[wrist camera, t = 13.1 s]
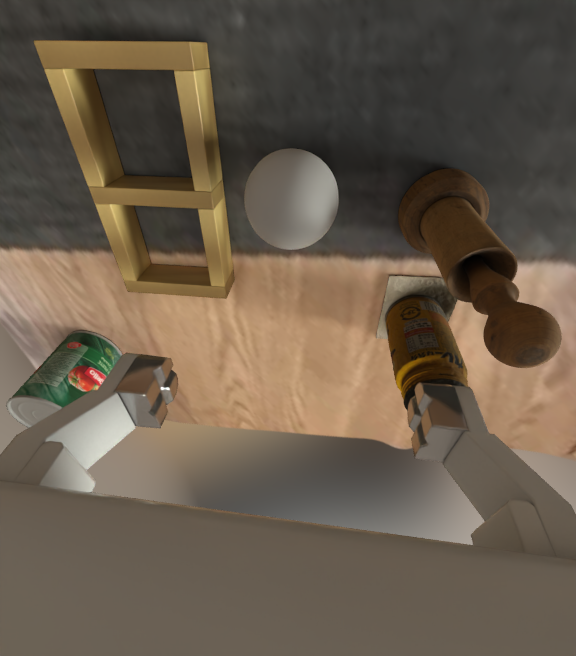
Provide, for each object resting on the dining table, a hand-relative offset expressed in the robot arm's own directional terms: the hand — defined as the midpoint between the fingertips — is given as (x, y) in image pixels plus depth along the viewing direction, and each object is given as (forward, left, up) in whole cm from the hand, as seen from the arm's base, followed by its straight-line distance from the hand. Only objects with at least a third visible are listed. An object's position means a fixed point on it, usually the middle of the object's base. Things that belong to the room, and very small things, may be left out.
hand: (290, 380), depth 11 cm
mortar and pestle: (+2, +11, -23) cm, 25 cm away
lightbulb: (-1, -1, -23) cm, 23 cm away
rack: (+1, -13, -22) cm, 26 cm away
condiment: (+13, +12, -23) cm, 28 cm away
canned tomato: (+24, -30, -23) cm, 44 cm away
